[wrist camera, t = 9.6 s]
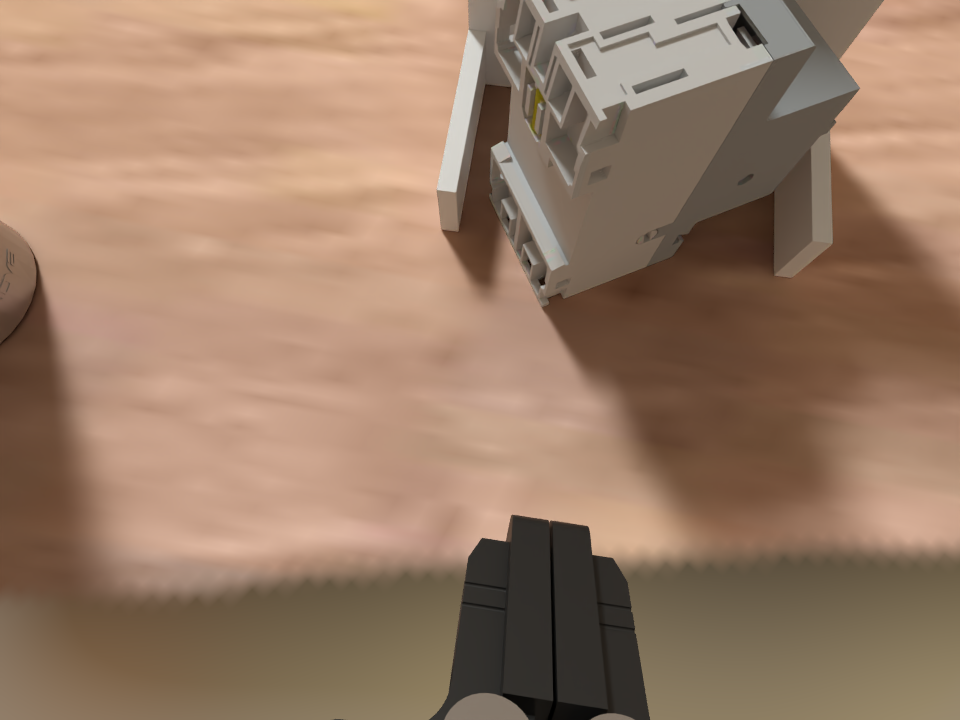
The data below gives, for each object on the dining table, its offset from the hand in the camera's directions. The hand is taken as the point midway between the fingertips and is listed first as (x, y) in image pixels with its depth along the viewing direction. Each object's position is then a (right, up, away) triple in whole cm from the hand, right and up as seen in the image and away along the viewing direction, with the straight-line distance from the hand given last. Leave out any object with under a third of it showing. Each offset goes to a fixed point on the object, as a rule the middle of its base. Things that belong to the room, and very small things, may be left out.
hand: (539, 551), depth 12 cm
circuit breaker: (+7, +13, +23) cm, 27 cm away
